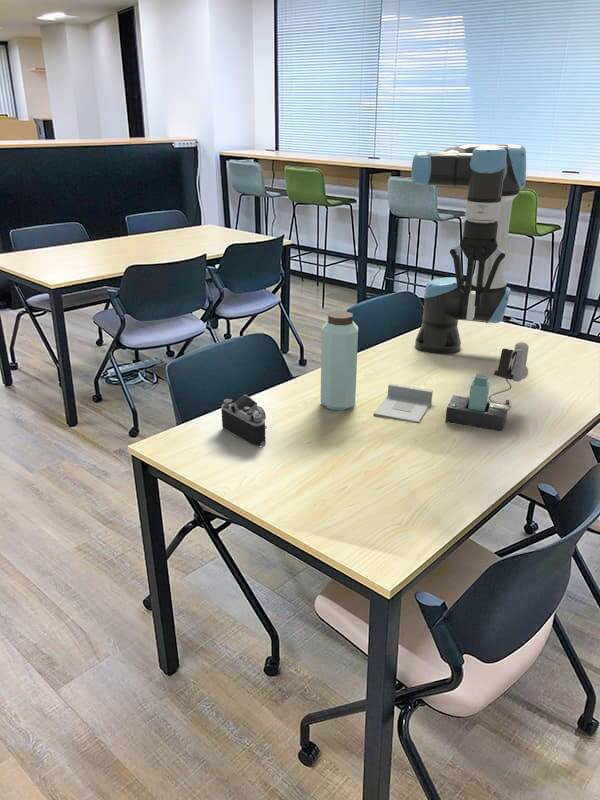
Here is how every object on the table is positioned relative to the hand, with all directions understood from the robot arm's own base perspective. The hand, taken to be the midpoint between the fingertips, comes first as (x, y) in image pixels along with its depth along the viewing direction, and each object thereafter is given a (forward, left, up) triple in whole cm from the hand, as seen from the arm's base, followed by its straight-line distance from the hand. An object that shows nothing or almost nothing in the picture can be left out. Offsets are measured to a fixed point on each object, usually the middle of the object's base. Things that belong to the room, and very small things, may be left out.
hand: (470, 318), depth 155 cm
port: (+4, +5, -26) cm, 27 cm away
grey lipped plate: (+4, -14, -26) cm, 30 cm away
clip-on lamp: (-8, +11, -26) cm, 29 cm away
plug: (+4, +5, -25) cm, 26 cm away
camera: (+32, -45, -26) cm, 61 cm away
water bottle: (+8, -31, -26) cm, 41 cm away
